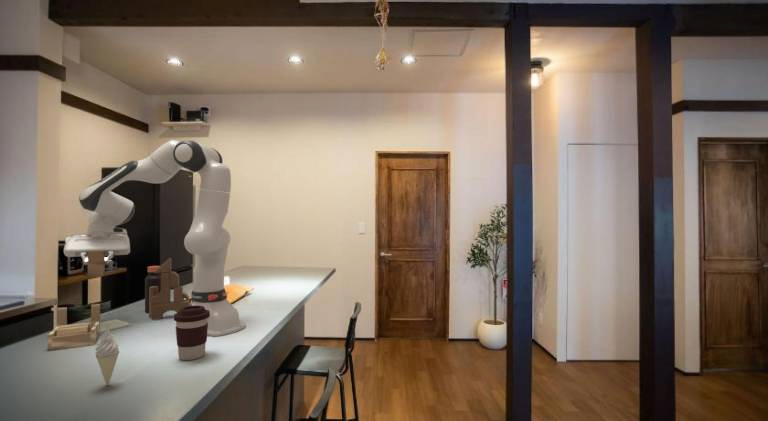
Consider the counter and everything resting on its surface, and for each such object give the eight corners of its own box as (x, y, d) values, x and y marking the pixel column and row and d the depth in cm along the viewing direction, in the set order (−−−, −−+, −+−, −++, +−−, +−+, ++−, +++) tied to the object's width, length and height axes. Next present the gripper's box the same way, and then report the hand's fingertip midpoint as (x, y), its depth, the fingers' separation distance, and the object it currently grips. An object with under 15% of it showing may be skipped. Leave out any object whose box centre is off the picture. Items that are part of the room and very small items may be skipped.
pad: (131, 325, 150) (131, 323, 150) (95, 333, 140) (95, 332, 140) (116, 320, 157) (116, 319, 157) (81, 328, 146) (81, 326, 146)
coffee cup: (173, 365, 112) (173, 313, 112) (174, 353, 120) (174, 306, 120) (210, 359, 116) (210, 309, 116) (208, 348, 125) (208, 302, 125)
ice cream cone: (103, 381, 101) (103, 324, 101) (123, 380, 101) (123, 323, 101) (90, 390, 96) (90, 330, 96) (111, 389, 96) (112, 329, 96)
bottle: (141, 312, 169) (141, 267, 169) (152, 309, 175) (153, 265, 175) (154, 313, 168) (154, 267, 168) (166, 309, 174) (166, 265, 174)
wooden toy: (190, 312, 169) (190, 256, 169) (188, 316, 163) (188, 257, 163) (150, 316, 164) (150, 257, 164) (146, 320, 157) (146, 259, 158)
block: (89, 275, 143) (90, 251, 143) (104, 274, 145) (104, 250, 145) (87, 277, 139) (88, 252, 139) (102, 276, 141) (103, 251, 141)
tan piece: (57, 339, 133) (57, 308, 133) (100, 334, 139) (100, 304, 139) (47, 350, 123) (47, 316, 123) (94, 344, 128) (94, 311, 128)
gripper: (65, 229, 143) (58, 259, 134) (130, 229, 153) (128, 256, 144) (67, 241, 147) (61, 270, 138) (131, 239, 157) (129, 266, 148)
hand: (96, 263), depth 141 cm, fingers closed on block, 4 cm apart
